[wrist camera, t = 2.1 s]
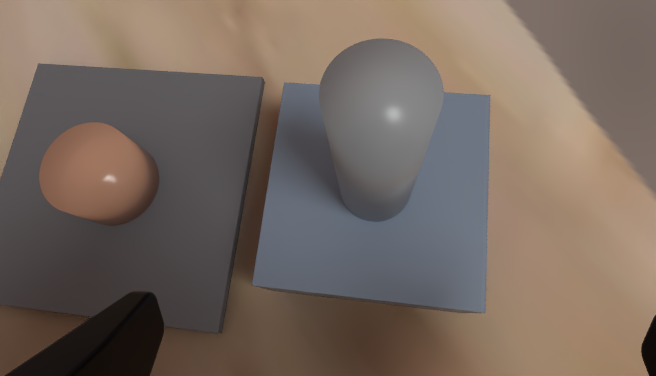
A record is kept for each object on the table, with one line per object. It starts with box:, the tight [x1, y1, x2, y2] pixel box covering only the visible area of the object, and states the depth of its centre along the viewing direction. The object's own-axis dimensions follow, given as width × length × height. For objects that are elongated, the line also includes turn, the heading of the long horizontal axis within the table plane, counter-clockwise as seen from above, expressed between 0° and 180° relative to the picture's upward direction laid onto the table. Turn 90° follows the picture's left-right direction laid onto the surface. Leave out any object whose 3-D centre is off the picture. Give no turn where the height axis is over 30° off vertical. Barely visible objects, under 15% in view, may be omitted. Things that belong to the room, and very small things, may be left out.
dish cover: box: [252, 39, 490, 313], centre depth 15 cm, size 8×8×11 cm
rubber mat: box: [0, 64, 265, 333], centre depth 21 cm, size 12×12×1 cm
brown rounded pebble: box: [39, 122, 159, 226], centre depth 20 cm, size 4×4×2 cm
